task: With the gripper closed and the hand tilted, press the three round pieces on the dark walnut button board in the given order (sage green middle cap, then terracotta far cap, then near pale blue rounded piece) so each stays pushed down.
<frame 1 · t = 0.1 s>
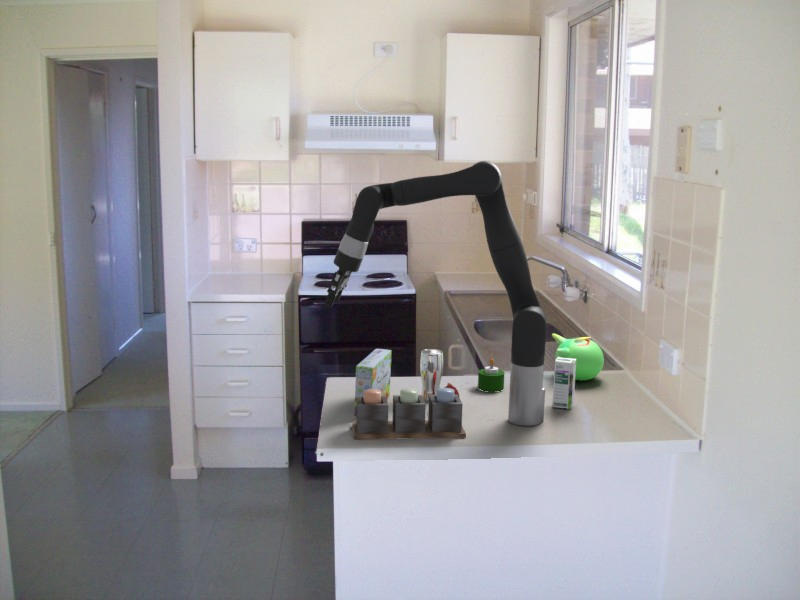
hand: (331, 303, 242), 31 cm above the table, tool tilted 20°, fingers open, 8 cm apart
toy bird: (576, 379, 282), on the table
pale blue rounded piece: (445, 398, 229), point 9 cm above the table, slide at 0.0 cm
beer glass: (430, 399, 258), on the table
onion: (449, 409, 249), on the table
button board: (408, 431, 230), on the table
terracotta button: (372, 399, 227), point 9 cm above the table, slide at 0.0 cm
sage button: (409, 398, 228), point 9 cm above the table, slide at 0.0 cm
snack box: (373, 406, 251), on the table
syrup box: (562, 406, 254), on the table
candle: (490, 389, 270), on the table
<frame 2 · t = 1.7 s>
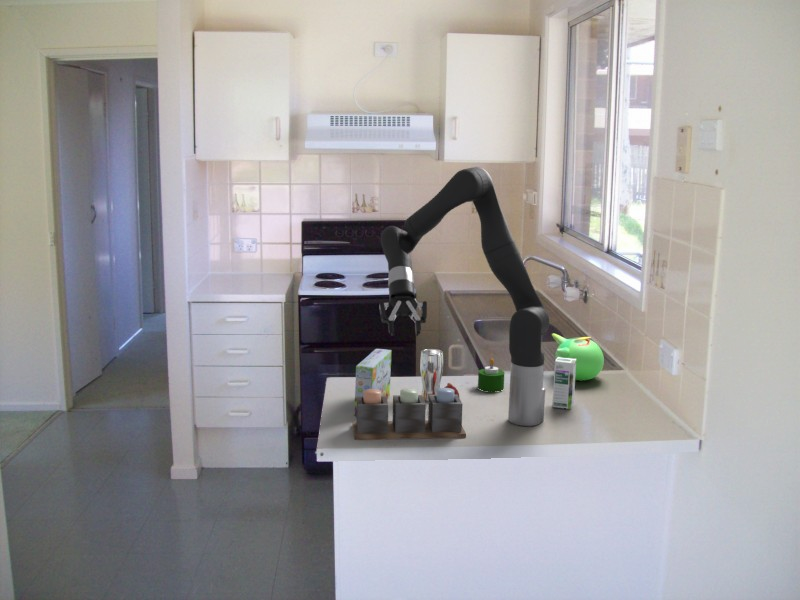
hand: (405, 334, 237), 24 cm above the table, tool tilted 45°, fingers open, 6 cm apart
nothing on the table moved.
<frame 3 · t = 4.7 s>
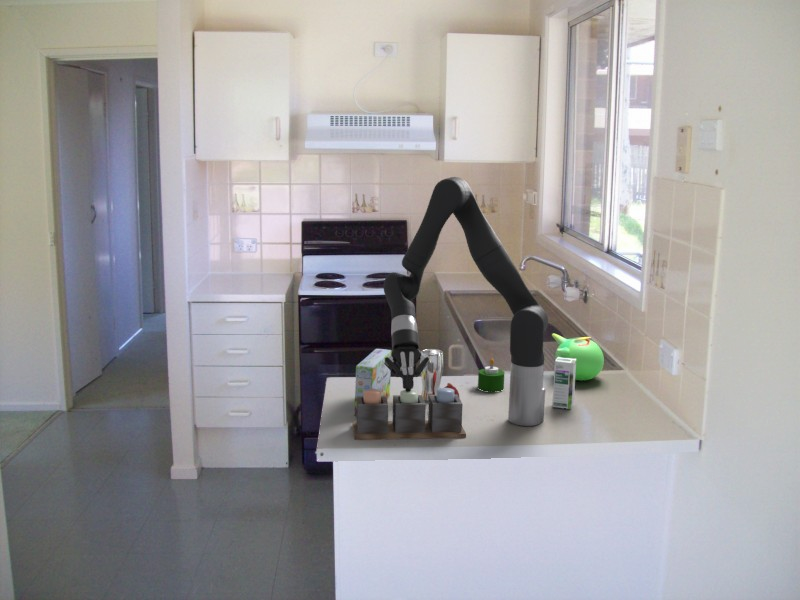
hand: (408, 389, 229), 12 cm above the table, tool tilted 45°, fingers closed
sage button: (409, 400, 228), point 9 cm above the table, slide at 0.4 cm, touching gripper
everything else where it was.
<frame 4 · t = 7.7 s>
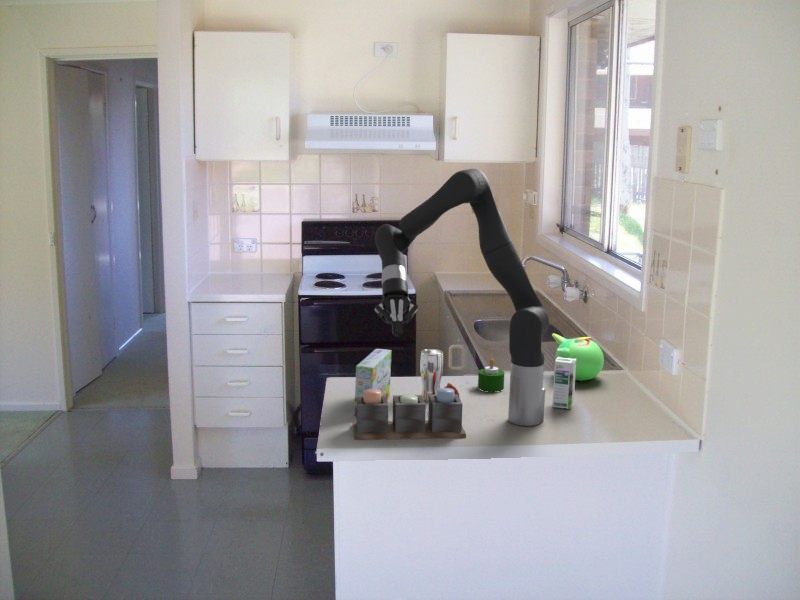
hand: (397, 335, 237), 24 cm above the table, tool tilted 45°, fingers closed
sage button: (408, 405, 229), point 7 cm above the table, slide at 1.8 cm
everything else where it was.
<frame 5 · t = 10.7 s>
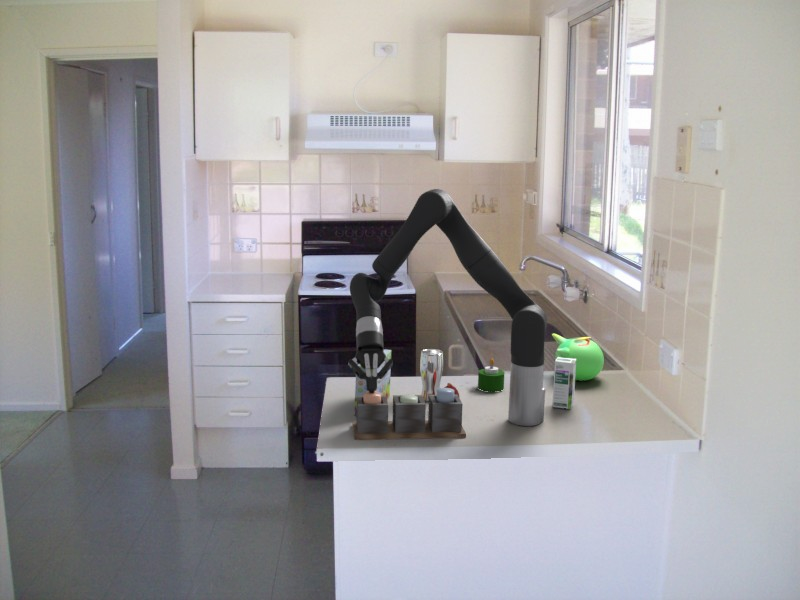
hand: (372, 391, 227), 11 cm above the table, tool tilted 45°, fingers closed
terracotta button: (372, 402, 227), point 9 cm above the table, slide at 0.7 cm
everything else where it was.
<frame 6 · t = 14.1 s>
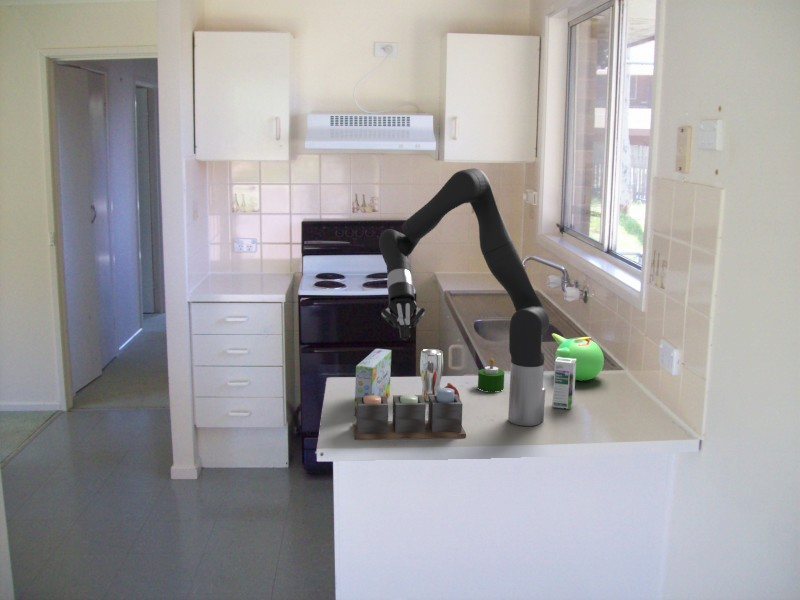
hand: (405, 338, 236), 23 cm above the table, tool tilted 45°, fingers closed
terracotta button: (372, 406, 228), point 7 cm above the table, slide at 1.8 cm
everything else where it was.
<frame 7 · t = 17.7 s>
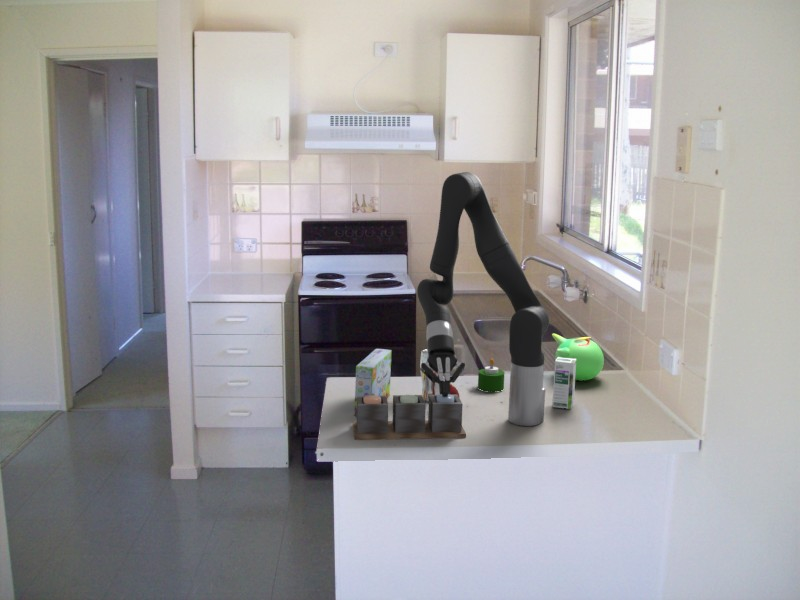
hand: (445, 395, 229), 10 cm above the table, tool tilted 45°, fingers closed
pale blue rounded piece: (445, 404, 230), point 7 cm above the table, slide at 1.8 cm, touching gripper
everything else where it was.
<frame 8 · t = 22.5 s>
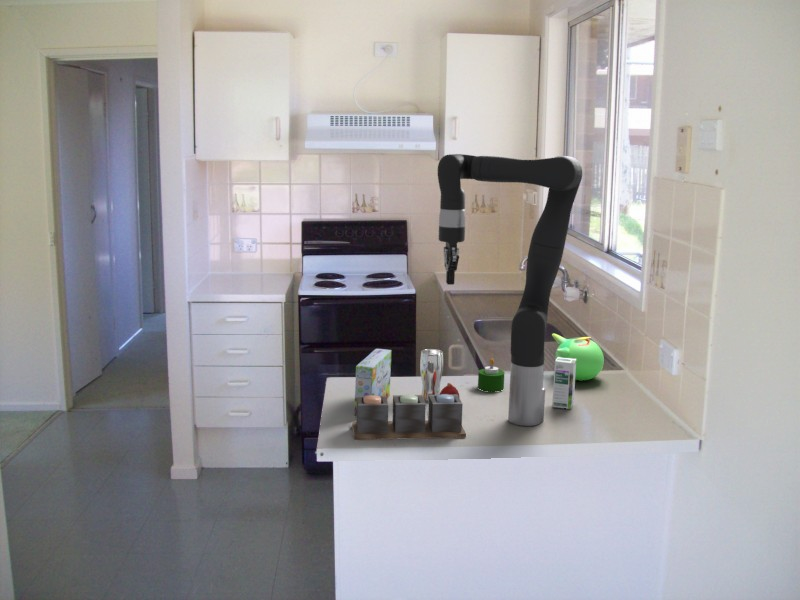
hand: (450, 284, 245), 37 cm above the table, tool pointing down, fingers closed
pale blue rounded piece: (445, 404, 230), point 7 cm above the table, slide at 1.9 cm
everything else where it was.
at the end: sage button slide at 1.8 cm; terracotta button slide at 1.8 cm; pale blue rounded piece slide at 1.9 cm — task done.
